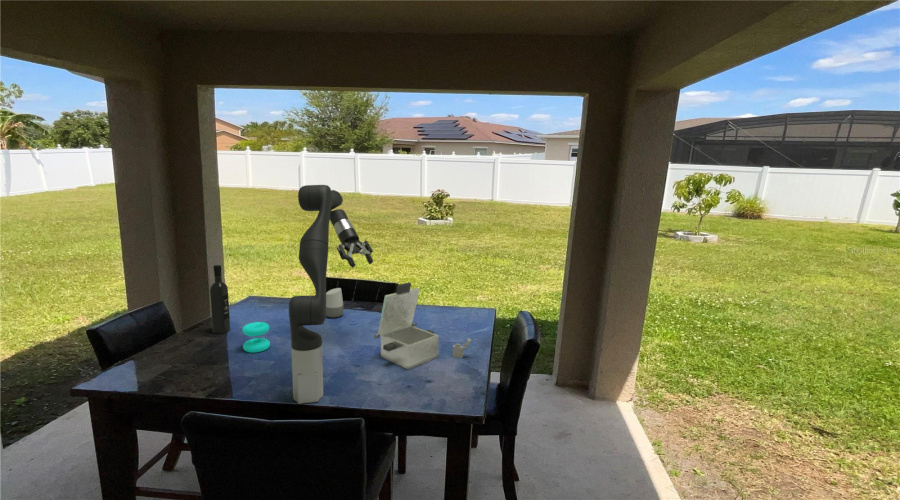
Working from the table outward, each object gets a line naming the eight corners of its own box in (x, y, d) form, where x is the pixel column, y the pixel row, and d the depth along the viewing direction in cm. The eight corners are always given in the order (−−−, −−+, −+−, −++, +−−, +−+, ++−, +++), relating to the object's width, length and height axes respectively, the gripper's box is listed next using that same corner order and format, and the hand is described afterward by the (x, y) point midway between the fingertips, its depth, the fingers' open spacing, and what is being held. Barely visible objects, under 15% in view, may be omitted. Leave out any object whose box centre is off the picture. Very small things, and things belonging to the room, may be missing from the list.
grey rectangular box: (371, 359, 169) (371, 335, 168) (416, 342, 187) (416, 321, 185) (399, 372, 158) (400, 347, 157) (445, 354, 176) (445, 331, 174)
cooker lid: (379, 335, 170) (377, 333, 171) (411, 325, 182) (409, 323, 183) (388, 288, 163) (386, 287, 164) (421, 281, 176) (419, 280, 176)
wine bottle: (231, 329, 196) (227, 264, 191) (223, 334, 191) (219, 267, 186) (219, 329, 197) (215, 264, 192) (211, 333, 191) (206, 266, 186)
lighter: (452, 356, 174) (452, 337, 172) (453, 355, 175) (453, 336, 174) (469, 358, 172) (470, 339, 171) (470, 357, 174) (471, 338, 172)
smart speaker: (324, 313, 222) (323, 287, 220) (342, 312, 225) (342, 286, 222) (324, 319, 213) (324, 292, 211) (344, 318, 216) (343, 291, 213)
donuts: (268, 328, 172) (240, 330, 168) (270, 352, 174) (242, 355, 170) (269, 320, 181) (243, 322, 178) (270, 342, 183) (244, 345, 179)
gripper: (334, 228, 173) (351, 262, 169) (363, 225, 184) (380, 257, 179) (327, 239, 178) (344, 272, 173) (356, 235, 188) (372, 266, 184)
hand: (362, 264), depth 176 cm, fingers open, 8 cm apart
